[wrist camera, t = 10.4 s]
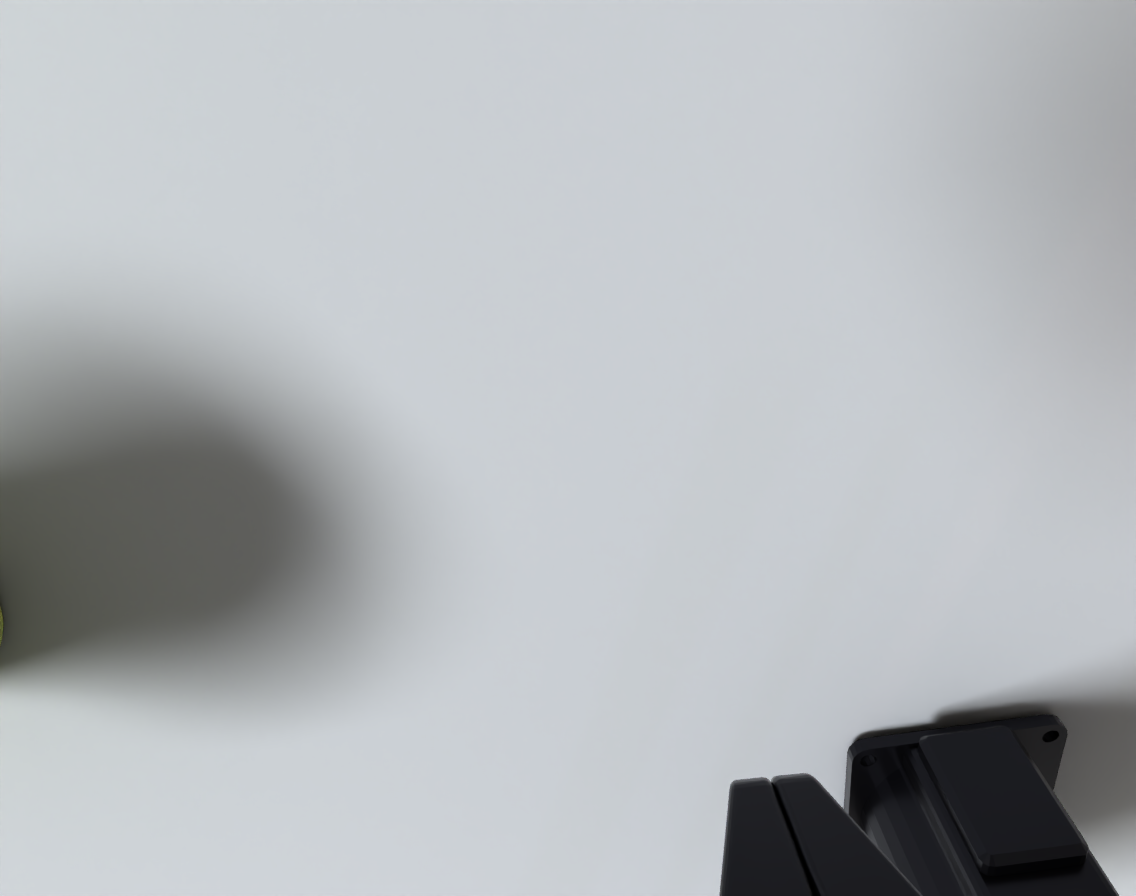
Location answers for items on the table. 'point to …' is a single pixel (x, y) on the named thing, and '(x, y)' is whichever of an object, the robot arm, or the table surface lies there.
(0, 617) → the plant pot
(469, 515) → the table surface
